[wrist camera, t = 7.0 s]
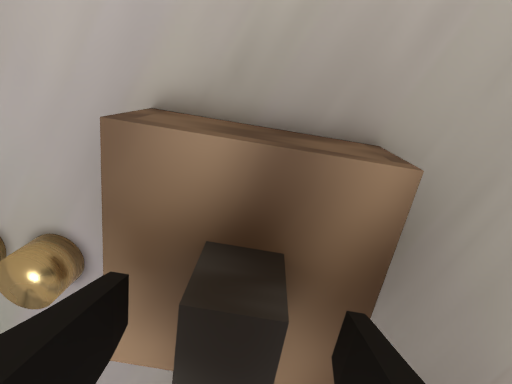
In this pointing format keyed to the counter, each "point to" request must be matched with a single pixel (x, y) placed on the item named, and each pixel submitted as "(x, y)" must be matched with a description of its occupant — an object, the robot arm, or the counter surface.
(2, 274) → the brass puck
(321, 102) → the counter surface
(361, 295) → the cover
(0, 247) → the brass puck
